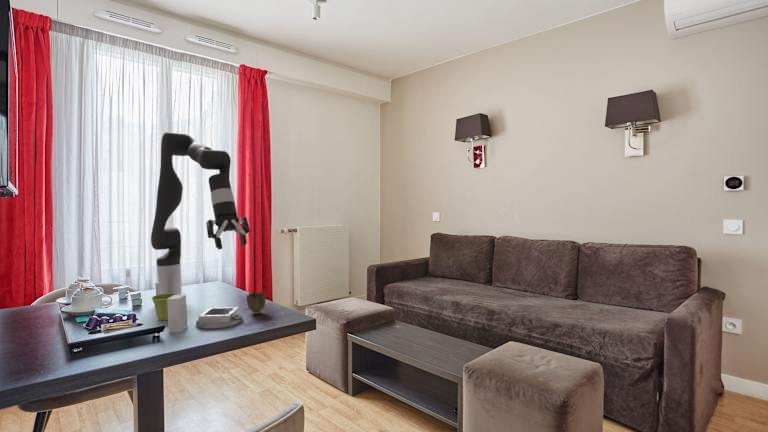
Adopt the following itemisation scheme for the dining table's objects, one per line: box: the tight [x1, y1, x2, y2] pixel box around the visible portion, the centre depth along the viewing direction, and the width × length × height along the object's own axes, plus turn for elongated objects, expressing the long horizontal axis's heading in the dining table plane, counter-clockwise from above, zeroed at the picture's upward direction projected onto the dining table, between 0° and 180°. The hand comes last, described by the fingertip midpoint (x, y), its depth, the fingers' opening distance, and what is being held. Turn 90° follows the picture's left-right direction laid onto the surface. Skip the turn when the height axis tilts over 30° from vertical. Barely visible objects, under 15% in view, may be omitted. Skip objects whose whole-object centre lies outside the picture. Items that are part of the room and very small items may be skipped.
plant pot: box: [151, 293, 179, 321], centre depth 160 cm, size 9×9×9 cm
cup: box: [245, 291, 267, 316], centre depth 163 cm, size 8×7×8 cm
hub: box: [195, 306, 244, 331], centre depth 153 cm, size 16×16×4 cm
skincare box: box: [167, 294, 189, 334], centre depth 145 cm, size 6×4×12 cm
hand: (232, 247), depth 145 cm, fingers open, 8 cm apart
